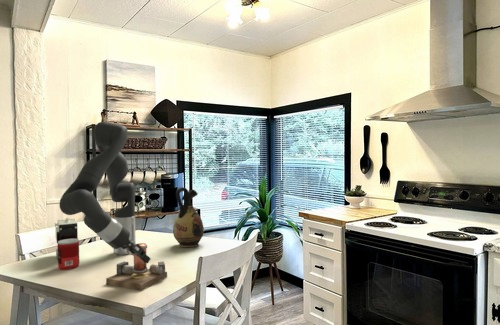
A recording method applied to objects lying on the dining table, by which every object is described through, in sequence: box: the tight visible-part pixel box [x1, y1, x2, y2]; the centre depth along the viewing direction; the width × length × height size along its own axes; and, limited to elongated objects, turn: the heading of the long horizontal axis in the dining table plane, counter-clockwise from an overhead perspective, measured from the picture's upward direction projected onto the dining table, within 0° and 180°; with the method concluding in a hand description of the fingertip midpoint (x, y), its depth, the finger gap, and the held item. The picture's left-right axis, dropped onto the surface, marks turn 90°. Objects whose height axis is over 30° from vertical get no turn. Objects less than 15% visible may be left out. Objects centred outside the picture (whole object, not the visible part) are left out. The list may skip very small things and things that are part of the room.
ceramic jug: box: [172, 186, 205, 248], centre depth 176 cm, size 17×15×30 cm
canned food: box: [56, 238, 80, 271], centre depth 144 cm, size 8×8×11 cm
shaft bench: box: [105, 260, 168, 291], centre depth 127 cm, size 17×14×6 cm
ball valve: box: [54, 217, 79, 258], centre depth 159 cm, size 18×8×18 cm, turn 31°
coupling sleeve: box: [133, 242, 148, 274], centre depth 126 cm, size 5×5×10 cm
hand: (144, 259), depth 128 cm, fingers closed on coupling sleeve, 4 cm apart
